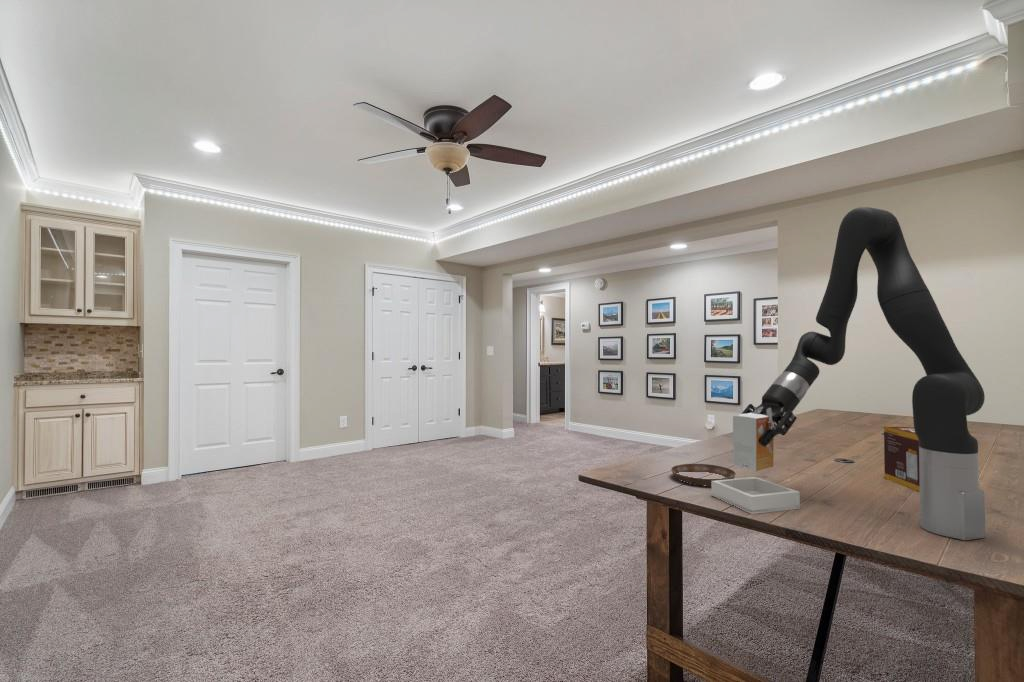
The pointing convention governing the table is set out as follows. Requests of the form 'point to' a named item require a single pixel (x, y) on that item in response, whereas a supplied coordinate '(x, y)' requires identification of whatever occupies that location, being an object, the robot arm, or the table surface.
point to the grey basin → (755, 495)
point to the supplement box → (902, 456)
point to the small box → (751, 442)
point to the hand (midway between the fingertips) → (748, 440)
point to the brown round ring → (702, 468)
